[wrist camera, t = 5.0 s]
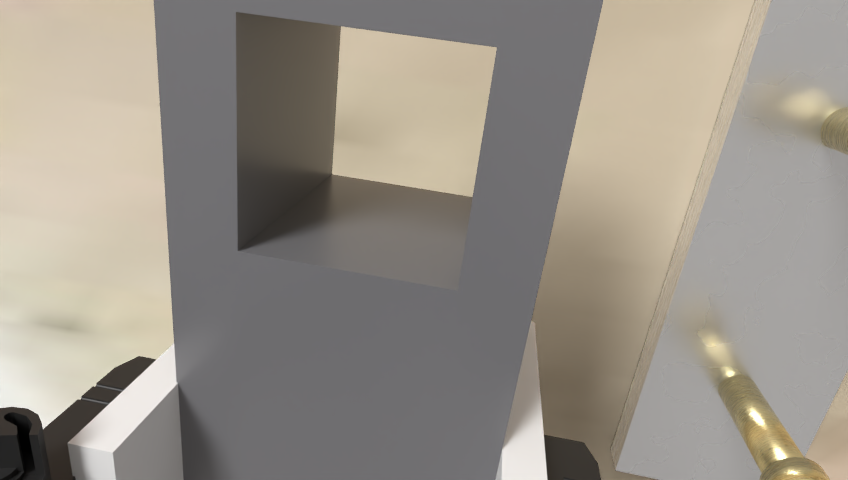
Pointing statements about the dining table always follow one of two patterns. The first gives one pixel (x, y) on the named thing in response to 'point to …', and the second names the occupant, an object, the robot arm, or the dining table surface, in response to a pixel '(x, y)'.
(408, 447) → the grey rectangular block
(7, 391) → the dining table surface
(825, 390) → the grey plate brass knobs
